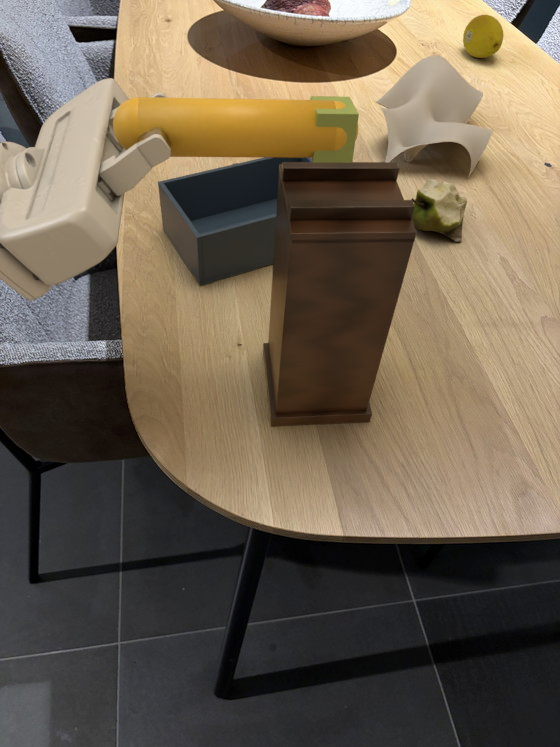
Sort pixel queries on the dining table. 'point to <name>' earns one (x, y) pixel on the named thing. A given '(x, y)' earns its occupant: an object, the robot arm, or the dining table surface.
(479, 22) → the lemon
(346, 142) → the corn cob
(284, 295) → the pedestal
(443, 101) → the sculpture
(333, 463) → the dining table surface
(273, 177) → the blue-grey open box
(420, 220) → the fruit
